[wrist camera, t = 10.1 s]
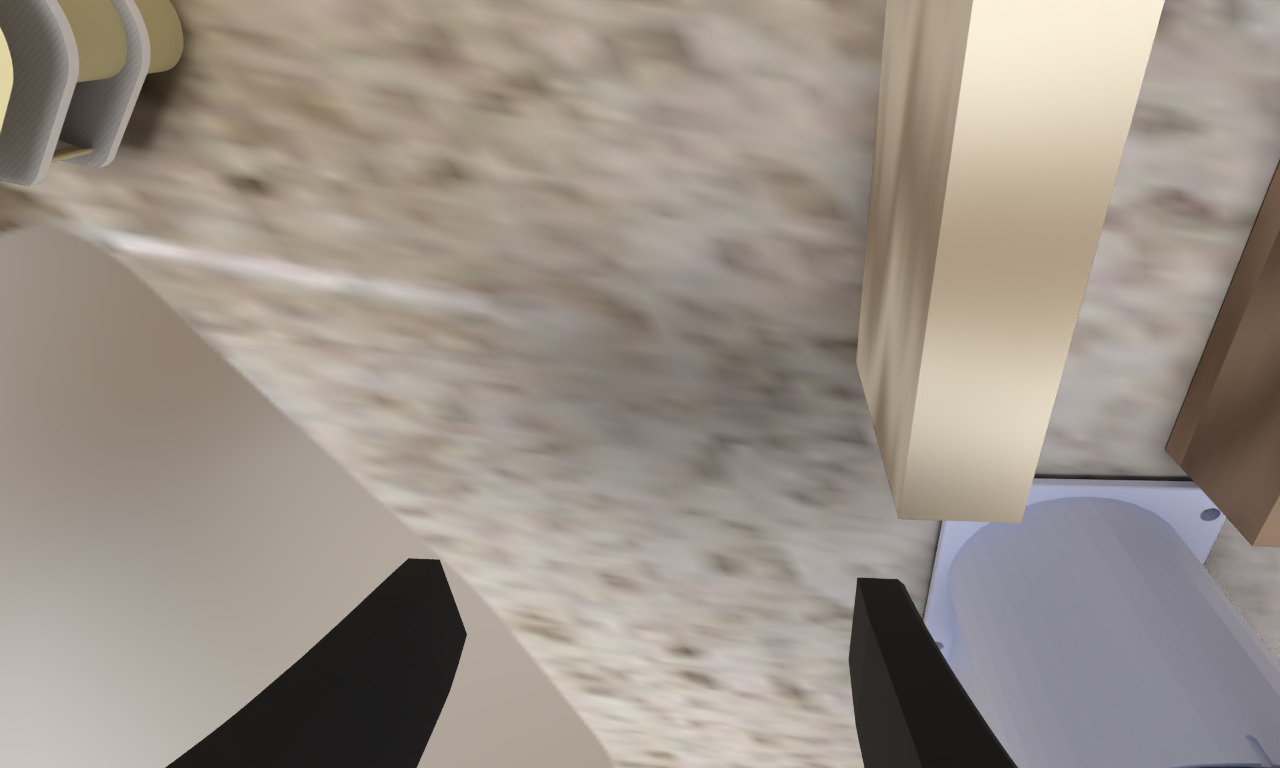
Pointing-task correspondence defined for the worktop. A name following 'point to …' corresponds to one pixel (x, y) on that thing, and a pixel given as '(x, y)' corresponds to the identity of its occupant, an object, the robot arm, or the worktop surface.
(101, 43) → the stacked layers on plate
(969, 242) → the birch sheet
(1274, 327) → the rack
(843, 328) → the worktop surface
